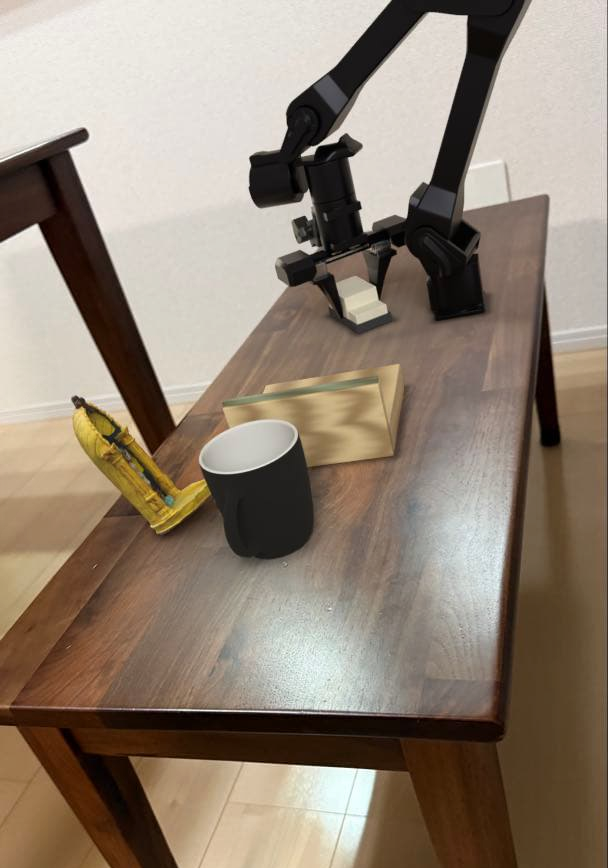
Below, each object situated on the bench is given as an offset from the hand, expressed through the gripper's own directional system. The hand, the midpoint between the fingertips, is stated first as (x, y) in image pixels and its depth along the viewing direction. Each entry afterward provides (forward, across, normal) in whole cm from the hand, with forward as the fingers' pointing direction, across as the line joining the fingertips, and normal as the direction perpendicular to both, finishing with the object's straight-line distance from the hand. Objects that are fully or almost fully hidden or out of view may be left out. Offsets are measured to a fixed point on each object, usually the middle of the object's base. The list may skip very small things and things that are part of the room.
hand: (358, 310), depth 117 cm
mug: (+1, +28, +45) cm, 53 cm away
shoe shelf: (+1, +16, +27) cm, 31 cm away
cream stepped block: (+1, 0, 0) cm, 1 cm away
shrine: (+1, +36, +34) cm, 49 cm away
